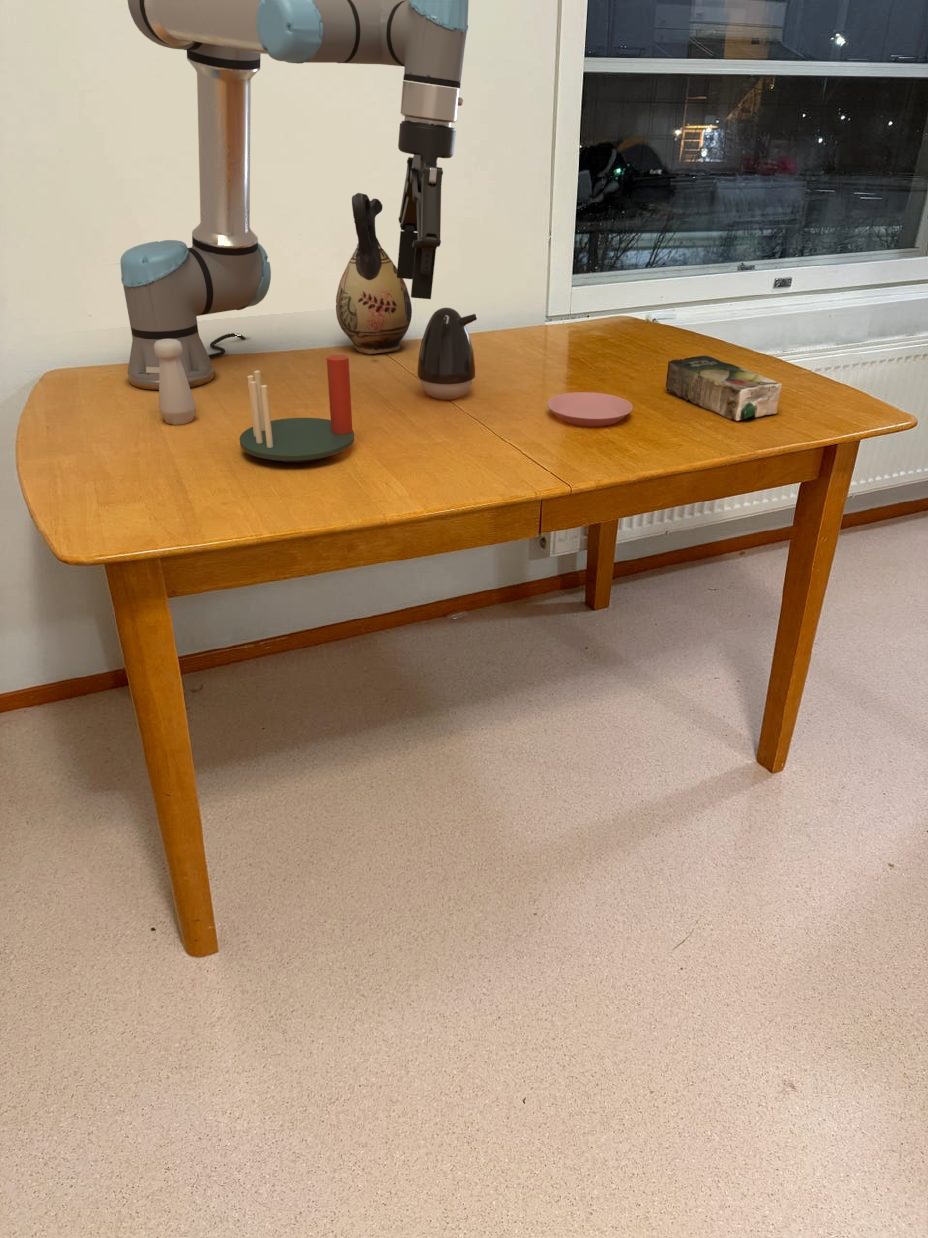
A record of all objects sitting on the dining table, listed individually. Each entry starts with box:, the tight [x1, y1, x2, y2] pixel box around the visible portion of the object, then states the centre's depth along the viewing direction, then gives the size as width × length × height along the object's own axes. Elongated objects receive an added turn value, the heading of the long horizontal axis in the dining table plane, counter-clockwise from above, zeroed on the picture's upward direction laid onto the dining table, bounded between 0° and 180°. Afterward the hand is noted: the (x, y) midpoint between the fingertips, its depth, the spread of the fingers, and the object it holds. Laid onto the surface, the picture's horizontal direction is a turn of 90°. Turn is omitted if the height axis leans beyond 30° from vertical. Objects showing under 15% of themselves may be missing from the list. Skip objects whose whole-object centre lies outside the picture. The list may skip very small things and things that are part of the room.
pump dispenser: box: [416, 307, 478, 401], centre depth 160 cm, size 10×10×15 cm
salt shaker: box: [154, 339, 197, 426], centre depth 147 cm, size 6×6×13 cm
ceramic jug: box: [335, 192, 413, 355], centre depth 183 cm, size 17×15×30 cm
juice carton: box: [665, 355, 783, 422], centre depth 160 cm, size 20×10×6 cm, turn 29°
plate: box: [546, 391, 634, 427], centre depth 154 cm, size 14×14×2 cm
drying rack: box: [239, 354, 355, 462], centre depth 135 cm, size 17×17×13 cm
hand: (412, 287), depth 133 cm, fingers open, 13 cm apart
